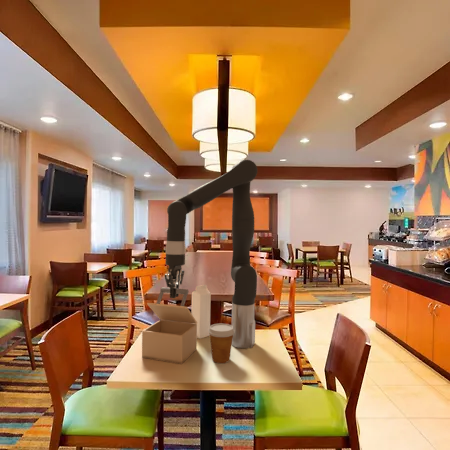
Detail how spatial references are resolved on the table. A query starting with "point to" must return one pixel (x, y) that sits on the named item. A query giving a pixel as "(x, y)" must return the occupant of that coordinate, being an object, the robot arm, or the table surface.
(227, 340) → the disposable coffee cup
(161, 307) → the carton flap
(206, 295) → the milk
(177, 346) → the carton
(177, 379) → the table surface
